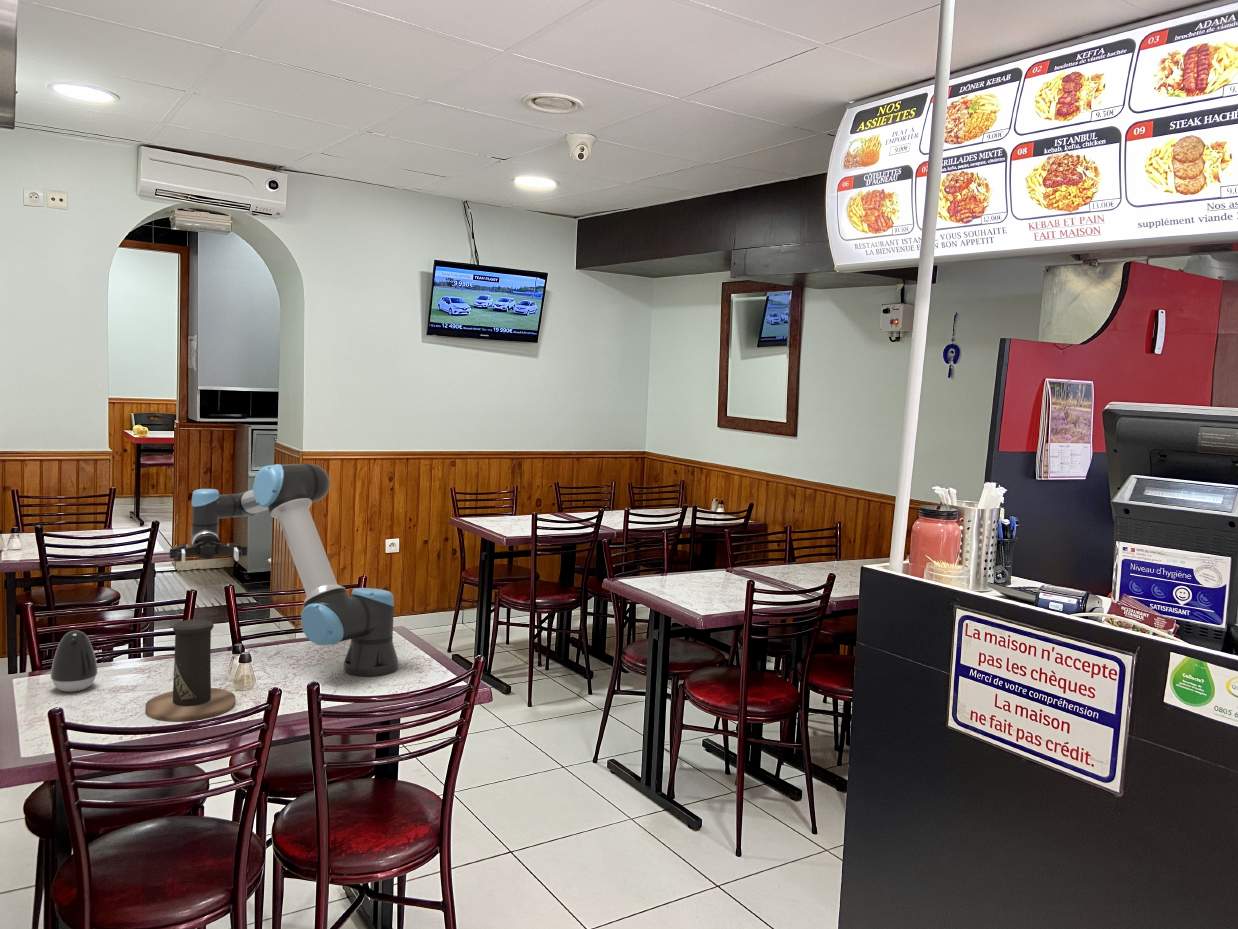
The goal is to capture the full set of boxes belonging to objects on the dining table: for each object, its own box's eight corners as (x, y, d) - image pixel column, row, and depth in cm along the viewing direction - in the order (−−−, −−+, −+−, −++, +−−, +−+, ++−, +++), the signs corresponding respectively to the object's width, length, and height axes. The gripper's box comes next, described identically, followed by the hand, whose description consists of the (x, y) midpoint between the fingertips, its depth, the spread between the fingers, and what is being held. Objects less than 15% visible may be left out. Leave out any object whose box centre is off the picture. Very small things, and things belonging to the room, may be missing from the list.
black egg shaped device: (48, 697, 220) (48, 637, 219) (52, 685, 229) (53, 627, 228) (96, 693, 225) (96, 634, 224) (98, 680, 234) (98, 624, 233)
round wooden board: (251, 697, 227) (251, 691, 227) (204, 725, 207) (204, 718, 207) (179, 690, 230) (179, 684, 230) (126, 717, 210) (126, 710, 210)
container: (173, 696, 221) (174, 617, 219) (212, 693, 224) (214, 615, 223) (170, 708, 213) (171, 626, 211) (211, 704, 216) (213, 624, 215)
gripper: (251, 555, 272) (258, 568, 253) (159, 558, 260) (160, 572, 242) (251, 531, 271) (258, 542, 253) (159, 533, 260) (160, 545, 241)
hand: (210, 557), depth 247 cm, fingers open, 13 cm apart
